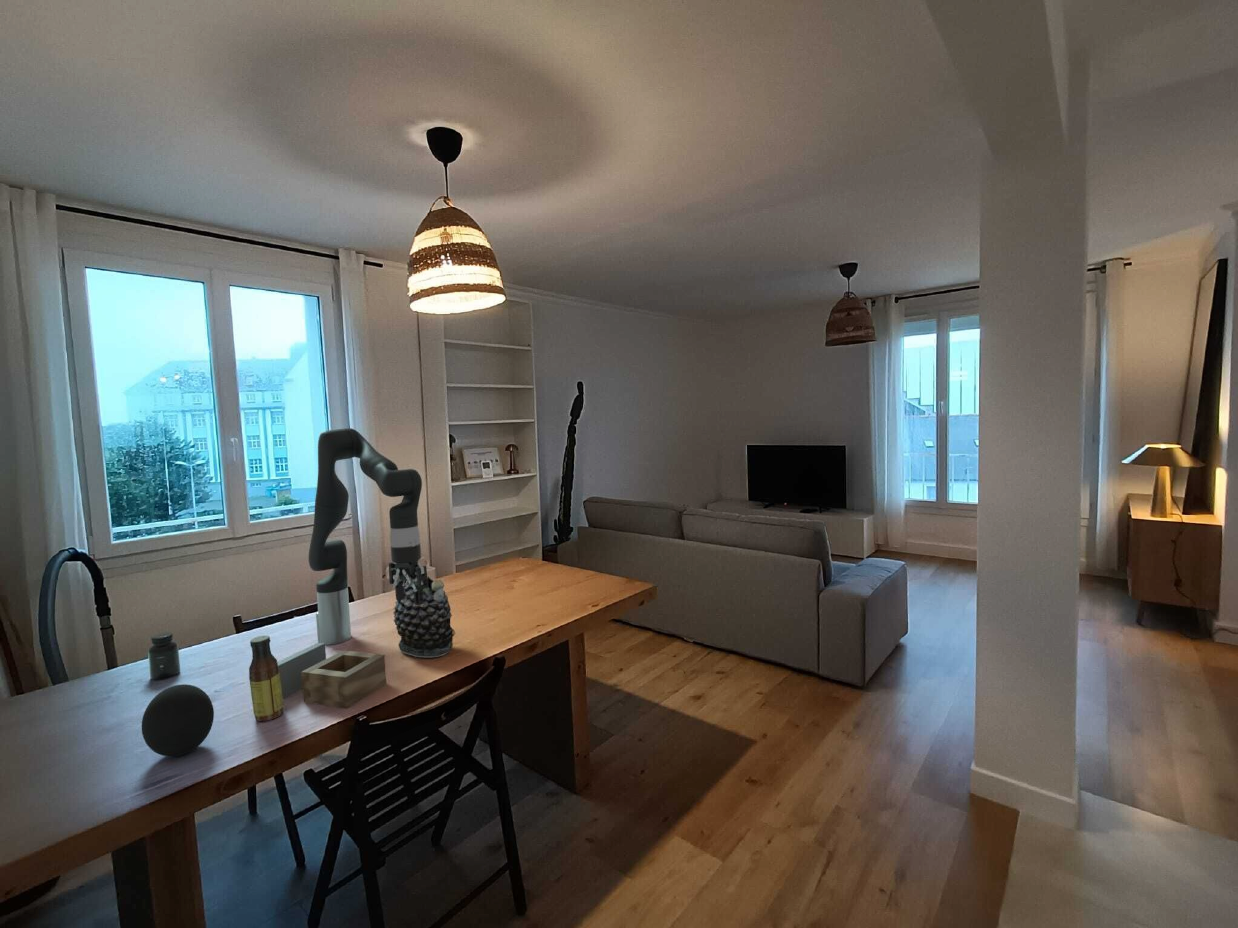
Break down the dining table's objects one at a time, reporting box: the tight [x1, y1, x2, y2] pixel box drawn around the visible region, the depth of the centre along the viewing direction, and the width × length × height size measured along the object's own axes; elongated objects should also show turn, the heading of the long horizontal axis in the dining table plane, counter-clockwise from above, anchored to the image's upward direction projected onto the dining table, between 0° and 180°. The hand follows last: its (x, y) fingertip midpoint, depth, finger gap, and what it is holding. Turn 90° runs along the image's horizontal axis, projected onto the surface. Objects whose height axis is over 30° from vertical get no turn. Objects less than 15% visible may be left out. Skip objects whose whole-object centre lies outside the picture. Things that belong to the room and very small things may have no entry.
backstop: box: [277, 642, 327, 699], centre depth 154 cm, size 2×16×9 cm, turn 162°
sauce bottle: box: [248, 635, 284, 722], centre depth 137 cm, size 6×6×20 cm
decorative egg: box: [141, 683, 215, 758], centre depth 123 cm, size 12×12×15 cm
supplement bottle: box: [147, 632, 181, 681], centre depth 163 cm, size 7×7×12 cm
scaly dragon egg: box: [393, 575, 456, 659], centre depth 175 cm, size 21×15×25 cm
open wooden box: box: [301, 649, 387, 709], centre depth 149 cm, size 14×14×8 cm
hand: (409, 602), depth 153 cm, fingers open, 8 cm apart
